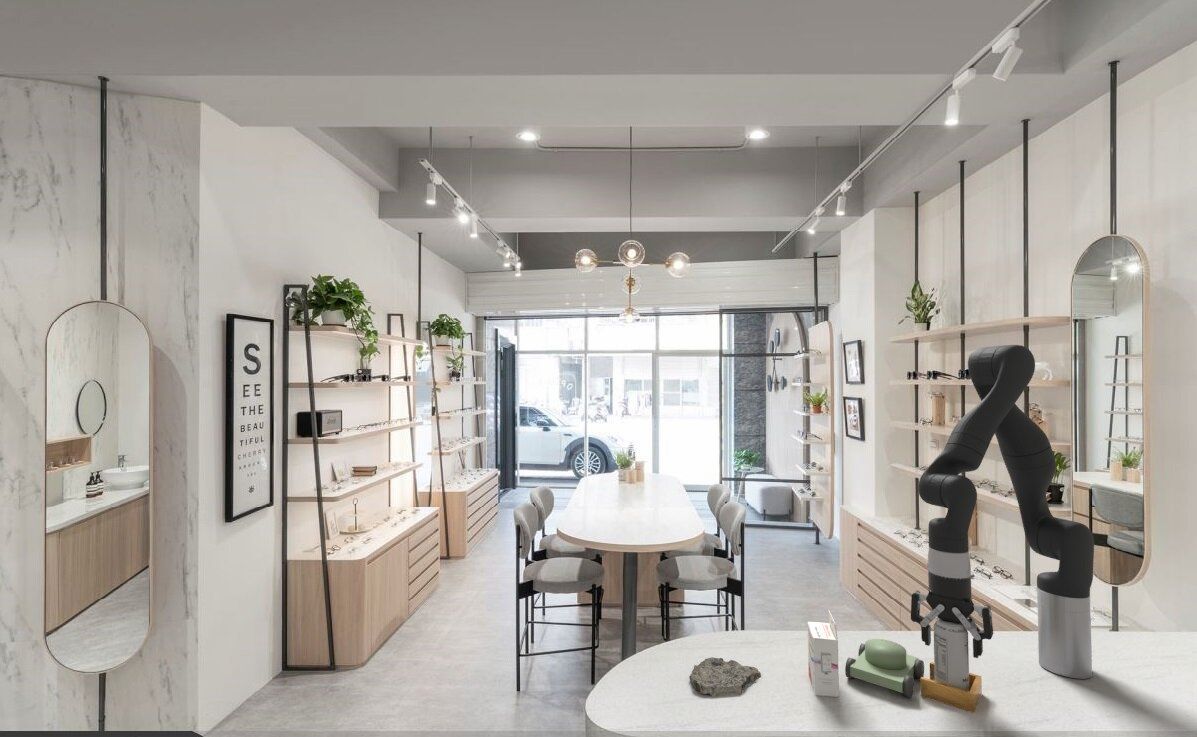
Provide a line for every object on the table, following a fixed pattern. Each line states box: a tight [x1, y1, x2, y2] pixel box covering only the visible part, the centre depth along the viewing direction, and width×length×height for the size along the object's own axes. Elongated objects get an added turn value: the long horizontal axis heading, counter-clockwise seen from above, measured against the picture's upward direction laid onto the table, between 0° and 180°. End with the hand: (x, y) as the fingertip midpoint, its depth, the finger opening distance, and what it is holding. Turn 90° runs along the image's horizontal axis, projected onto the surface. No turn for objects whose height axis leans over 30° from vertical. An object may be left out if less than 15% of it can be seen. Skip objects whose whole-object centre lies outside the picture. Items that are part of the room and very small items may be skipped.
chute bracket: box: [920, 661, 983, 714], centre depth 116 cm, size 9×9×4 cm
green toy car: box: [844, 638, 925, 699], centre depth 122 cm, size 14×12×6 cm
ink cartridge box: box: [807, 609, 840, 698], centre depth 119 cm, size 9×5×15 cm, turn 168°
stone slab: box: [689, 657, 761, 698], centre depth 122 cm, size 12×17×3 cm
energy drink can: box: [933, 616, 970, 691], centre depth 116 cm, size 6×6×15 cm
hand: (951, 650), depth 116 cm, fingers open, 8 cm apart
